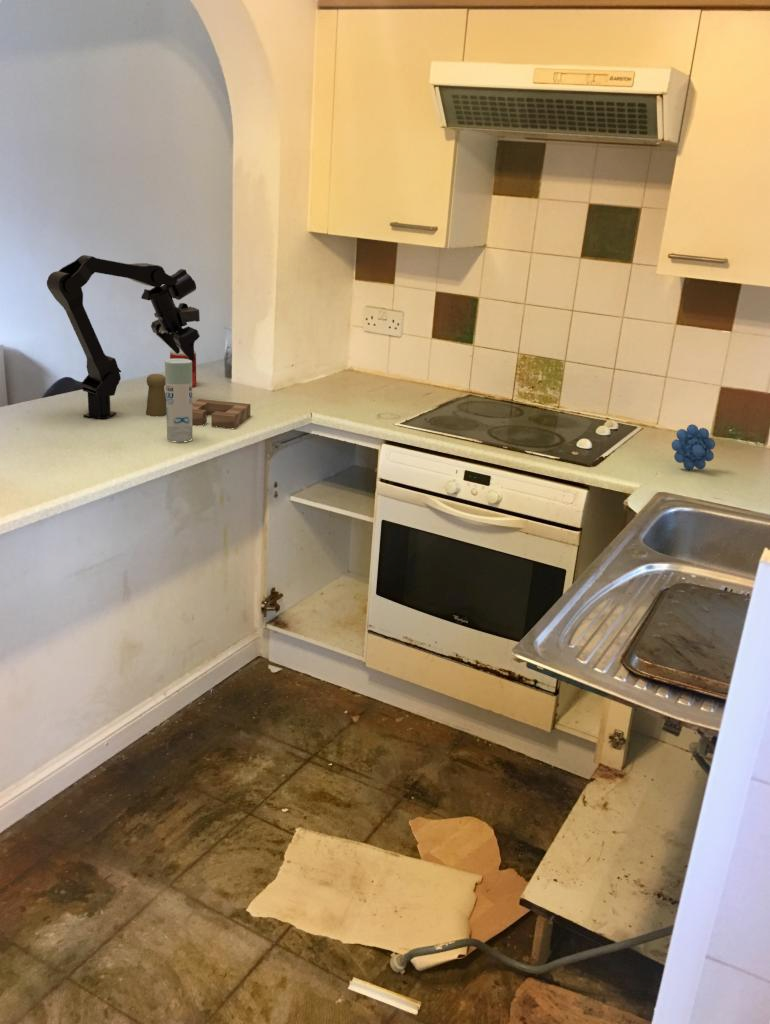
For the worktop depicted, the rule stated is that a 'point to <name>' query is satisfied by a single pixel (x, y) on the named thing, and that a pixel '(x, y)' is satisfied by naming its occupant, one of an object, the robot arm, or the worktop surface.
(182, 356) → the canned food
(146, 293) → the robot arm
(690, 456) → the blue knobbed flower
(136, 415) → the worktop surface
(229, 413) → the socket block
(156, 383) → the cork
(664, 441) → the worktop surface
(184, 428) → the spray paint can
